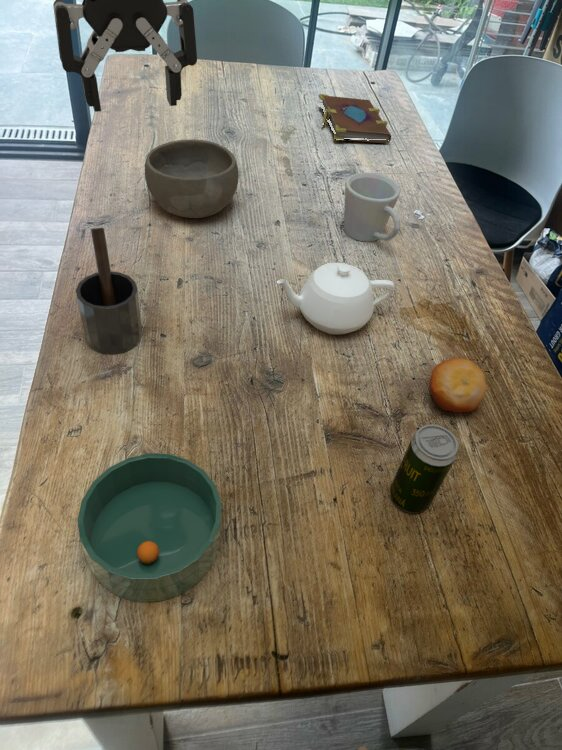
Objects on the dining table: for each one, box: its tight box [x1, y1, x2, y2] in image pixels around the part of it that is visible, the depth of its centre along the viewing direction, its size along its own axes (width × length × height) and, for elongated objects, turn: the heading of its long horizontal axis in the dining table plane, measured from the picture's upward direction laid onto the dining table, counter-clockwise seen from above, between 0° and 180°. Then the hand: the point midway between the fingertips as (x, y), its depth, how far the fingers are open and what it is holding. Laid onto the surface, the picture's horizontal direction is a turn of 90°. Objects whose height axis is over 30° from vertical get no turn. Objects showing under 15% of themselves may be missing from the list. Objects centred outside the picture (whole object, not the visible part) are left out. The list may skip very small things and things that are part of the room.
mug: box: [343, 171, 401, 243], centre depth 111 cm, size 10×15×10 cm
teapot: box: [276, 261, 396, 335], centre depth 94 cm, size 20×12×10 cm, turn 100°
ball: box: [137, 541, 159, 564], centre depth 64 cm, size 2×2×2 cm
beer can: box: [389, 423, 459, 514], centre depth 70 cm, size 5×5×12 cm
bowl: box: [144, 139, 240, 219], centre depth 113 cm, size 17×18×10 cm
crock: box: [75, 270, 143, 355], centre depth 86 cm, size 8×8×9 cm
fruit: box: [428, 357, 488, 413], centre depth 85 cm, size 8×8×8 cm
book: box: [318, 93, 392, 144], centre depth 149 cm, size 16×25×5 cm, turn 9°
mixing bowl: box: [76, 453, 222, 603], centre depth 65 cm, size 15×15×6 cm
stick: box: [90, 227, 116, 306], centre depth 85 cm, size 2×2×16 cm
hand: (134, 106), depth 66 cm, fingers open, 8 cm apart
